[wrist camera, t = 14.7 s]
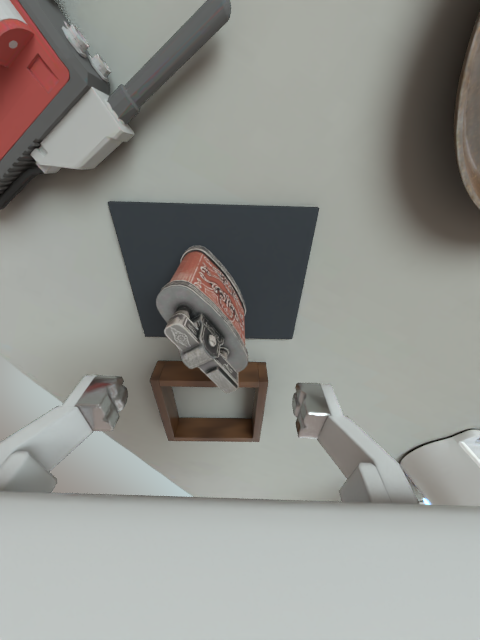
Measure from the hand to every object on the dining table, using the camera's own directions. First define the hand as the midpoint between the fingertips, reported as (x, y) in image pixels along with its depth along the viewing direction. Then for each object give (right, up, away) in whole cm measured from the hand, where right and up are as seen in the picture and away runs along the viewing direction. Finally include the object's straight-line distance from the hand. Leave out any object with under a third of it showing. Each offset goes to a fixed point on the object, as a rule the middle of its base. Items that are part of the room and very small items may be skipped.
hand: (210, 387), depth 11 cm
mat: (-1, +7, +10) cm, 12 cm away
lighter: (-1, +6, +10) cm, 12 cm away
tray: (-2, -7, +20) cm, 21 cm away
